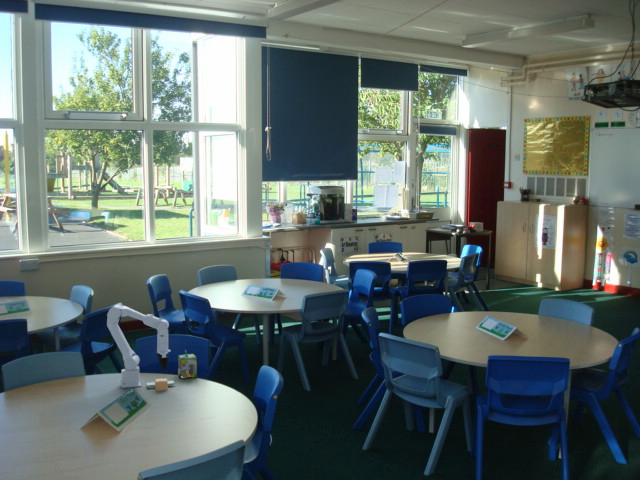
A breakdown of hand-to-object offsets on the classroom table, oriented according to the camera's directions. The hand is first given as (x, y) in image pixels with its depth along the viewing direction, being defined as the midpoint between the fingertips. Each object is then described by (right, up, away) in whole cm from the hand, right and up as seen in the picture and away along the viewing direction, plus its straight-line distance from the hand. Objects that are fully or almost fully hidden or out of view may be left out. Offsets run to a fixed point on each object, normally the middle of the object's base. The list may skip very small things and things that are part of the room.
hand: (162, 367), depth 340 cm
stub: (+1, -10, -7) cm, 12 cm away
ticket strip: (-1, -10, -2) cm, 10 cm away
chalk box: (+10, -8, +16) cm, 21 cm away
